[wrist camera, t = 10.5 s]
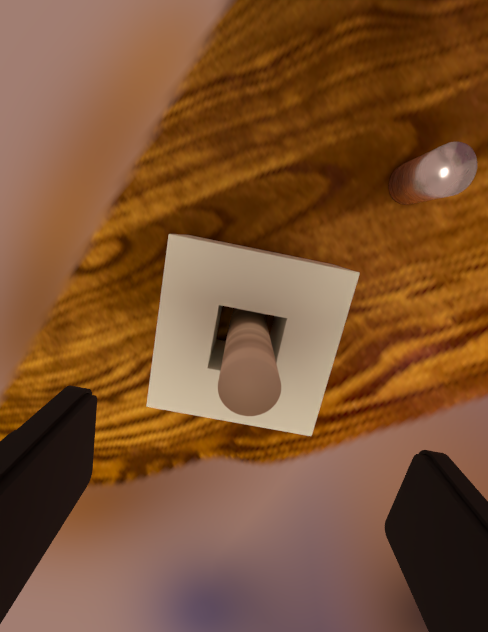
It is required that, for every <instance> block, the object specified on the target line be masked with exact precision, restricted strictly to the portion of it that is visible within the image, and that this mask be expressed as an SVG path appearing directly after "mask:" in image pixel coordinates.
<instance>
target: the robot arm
mask: <svg viewBox="0 0 488 632" xmlns="http://www.w3.org/2000/svg"><path fill="white" fill-rule="evenodd" d="M96 409H97V397H96V396H95V395H92V392H91V390H90V389H86V388H81V387H75V386H67V387H66V388H64V389H63V390H62V391H61V392H60V393H59V394H58V395H56V396H55V397H54V398H53V399H52V400H51V401H49V402H48V403H47V404H46V405H45V406H44V407H43V408H41V409H40V410H39V411H38V412H37V413H36V414H34V415H33V416H32V417H31V418H30V419H29V420H28V421H26V422H25V423H24V424H23V425H22V426H21V427H19V428H18V429H17V430H14V431H13V432H12V433H10V434H9V435H7V436H6V437H5V438H4V439H3V440H2V441H0V624H1V622H2V620H3V619H4V617H5V616H6V614H7V613H8V611H9V609H10V608H11V606H12V605H13V603H14V601H15V600H16V598H17V597H18V595H19V593H20V592H21V590H22V589H23V587H24V585H25V584H26V582H27V581H28V579H29V578H30V576H31V574H32V573H33V571H34V569H35V568H36V566H37V565H38V563H39V562H40V560H41V558H42V557H43V555H44V554H45V552H46V550H47V549H48V547H49V546H50V544H51V543H52V541H53V539H54V538H55V536H56V535H57V533H58V531H59V530H60V528H61V527H62V525H63V524H64V522H65V520H66V519H67V517H68V516H69V514H70V512H71V511H72V509H73V508H74V506H75V504H76V503H77V501H78V500H79V498H80V496H81V495H82V493H83V492H84V490H85V489H86V487H87V485H88V483H89V481H90V478H91V475H92V468H93V453H94V438H95V423H96ZM385 533H386V536H387V539H388V541H389V543H390V545H391V548H392V550H393V552H394V555H395V557H396V559H397V561H398V563H399V565H400V568H401V570H402V573H403V574H404V577H405V579H406V581H407V584H408V586H409V588H410V590H411V593H412V595H413V597H414V599H415V602H416V604H417V606H418V608H419V611H420V612H421V615H422V617H423V620H424V622H425V624H426V626H427V629H428V631H429V632H488V501H487V500H486V499H485V498H484V497H483V496H482V495H481V493H480V492H479V491H478V490H477V489H476V488H475V486H474V485H473V484H472V483H471V482H470V481H469V480H468V479H467V477H466V476H465V475H464V474H463V473H462V472H461V470H460V469H459V468H458V467H457V466H456V465H455V464H454V462H453V461H452V460H451V459H450V458H449V457H448V456H447V455H446V454H443V453H438V452H433V451H428V450H422V451H421V452H420V453H419V454H416V455H415V456H414V457H413V459H412V462H411V464H410V466H409V468H408V471H407V473H406V475H405V478H404V480H403V482H402V485H401V487H400V489H399V491H398V494H397V496H396V499H395V501H394V503H393V505H392V508H391V510H390V512H389V515H388V517H387V519H386V522H385Z"/></svg>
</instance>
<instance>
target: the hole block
mask: <svg viewBox="0 0 488 632" xmlns="http://www.w3.org/2000/svg"><path fill="white" fill-rule="evenodd" d="M359 274H360V273H359V272H356V271H353V270H349V269H346V268H343V267H340V266H337V265H334V264H329V263H324V262H319V261H314V260H309V259H304V258H299V257H295V256H290V255H285V254H280V253H275V252H270V251H265V250H260V249H255V248H250V247H245V246H241V245H236V244H231V243H226V242H221V241H216V240H211V239H206V238H201V237H196V236H192V235H183V234H169V236H168V244H167V252H166V259H165V267H164V275H163V283H162V290H161V298H160V306H159V313H158V321H157V329H156V337H155V344H154V352H153V360H152V367H151V375H150V383H149V391H148V398H147V406H146V407H152V408H157V409H163V410H168V411H174V412H179V413H185V414H190V415H196V416H202V417H207V418H213V419H218V420H224V421H229V422H235V423H240V424H246V425H252V426H257V427H263V428H268V429H274V430H279V431H285V432H290V433H296V434H302V435H307V436H312V433H313V429H314V426H315V423H316V419H317V416H318V413H319V409H320V406H321V402H322V399H323V396H324V392H325V389H326V386H327V382H328V379H329V375H330V372H331V369H332V365H333V362H334V359H335V355H336V352H337V348H338V345H339V342H340V338H341V335H342V332H343V328H344V325H345V321H346V318H347V315H348V311H349V308H350V304H351V301H352V298H353V294H354V291H355V288H356V284H357V281H358V277H359ZM222 306H227V307H232V308H237V309H242V310H247V311H252V312H257V313H262V314H268V315H273V316H274V319H273V323H272V328H271V332H270V339H271V343H272V348H273V352H274V356H275V360H276V364H277V368H278V372H279V377H280V381H281V394H280V397H279V399H278V401H277V403H276V404H275V405H274V406H273V407H272V408H271V409H270V410H268V411H267V412H265V413H263V414H260V415H256V416H242V415H239V414H236V413H234V412H232V411H231V410H229V409H228V408H227V407H226V406H225V405H224V404H223V403H222V401H221V399H220V397H219V394H218V381H219V376H220V370H221V365H222V360H223V355H224V349H225V344H226V341H222V340H217V339H216V338H217V333H218V327H219V322H220V316H221V311H222Z"/></svg>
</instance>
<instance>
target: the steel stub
mask: <svg viewBox="0 0 488 632" xmlns="http://www.w3.org/2000/svg"><path fill="white" fill-rule="evenodd" d="M476 170H477V158H476V155H475V153H474V151H473V150H472V148H471V147H469V146H468V145H467V144H465V143H462V142H450V143H447V144H445V145H443V146H441V147H438V148H436V149H434V150H432V151H430V152H428V153H426V154H423V155H421V156H419V157H417V158H415V159H413V160H411V161H409V162H406V163H404V164H402V165H400V166H399V167H398V168H397V169H396V170H395V171H394V172H393V173H392V175H391V177H390V180H389V192H390V195H391V197H392V198H393V199H394V200H395V201H396V202H397V203H399V204H404V205H408V204H413V203H418V202H423V201H428V200H433V199H438V198H443V197H448V196H453V195H456V194H458V193H460V192H462V191H463V190H465V189H466V188H467V187H468V186H469V185H470V183H471V182H472V180H473V179H474V177H475V174H476Z"/></svg>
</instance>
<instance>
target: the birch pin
mask: <svg viewBox="0 0 488 632" xmlns="http://www.w3.org/2000/svg"><path fill="white" fill-rule="evenodd" d="M218 394H219V397H220V399H221V401H222V403H223V404H224V405H225V406H226V407H227V408H228V409H229V410H231V411H232V412H234V413H236V414H239V415H242V416H256V415H260V414H263V413H265V412H267V411H268V410H270V409H271V408H272V407H273V406H274V405H275V404H276V403H277V401H278V399H279V397H280V394H281V381H280V377H279V372H278V368H277V364H276V360H275V356H274V352H273V348H272V343H271V339H270V335H269V331H268V327H267V323H266V319H265V315H264V314H262V313H257V312H252V311H247V310H242V309H237V308H235V309H234V310H233V312H232V314H231V318H230V323H229V328H228V334H227V339H226V344H225V349H224V355H223V360H222V365H221V370H220V376H219V381H218Z"/></svg>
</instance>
